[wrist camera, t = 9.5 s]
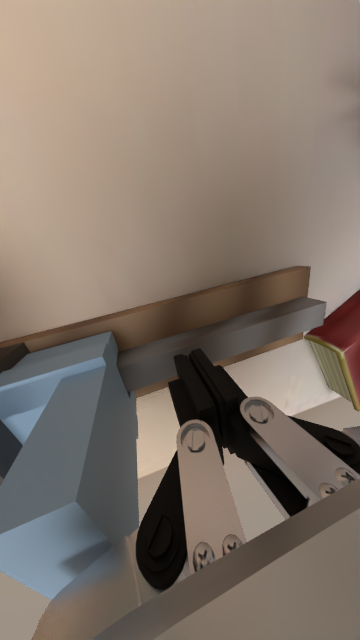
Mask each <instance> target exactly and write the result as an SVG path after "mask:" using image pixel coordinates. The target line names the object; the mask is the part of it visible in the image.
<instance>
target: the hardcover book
mask: <svg viewBox="0 0 360 640" xmlns="http://www.w3.org/2000/svg"><path fill="white" fill-rule="evenodd" d="M304 338H305V339H307V340H309V341H310V343H311V346H312V348H313V350H314V353H315V355H316V357H317V360H318V362H319V365H320V367H321V369H322V372H323V374H324V377H325V379H326V381H327V384H328V386H329V388H330V389H332V390H333V391H335V392H336V393H338V394H339V395H341V396H343V397H344V398H346V399H347V400H349V401H350V402H352V403H353V406H354V409H355V410H357V411H359V410H360V290H359V291H358V292H356V293H355V294H354V295H353V296H352V297H351V298H349V299H348V300H347V301H346V302H345V303H343V304H342V305H341V306H340V307H339V308H337V309H336V310H335V311H334V312H333V313H331V314H330V315H329V316H328V317H327V318H326V319H324V322H323V325H322V326H319V327H316V328H314V329H312V330H311V331H310V332H309V333H308V334H306V335H305V336H304Z"/></svg>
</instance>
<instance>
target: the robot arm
mask: <svg viewBox="0 0 360 640" xmlns="http://www.w3.org/2000/svg"><path fill="white" fill-rule="evenodd" d="M174 362H175V366H176V370H177V375H178V379H176V380H173V381H170V382H168V386H169V390H170V394H171V397H172V401H173V404H174V408H175V411H176V415H177V418H178V421H179V425H180V429H179V431H178V434H177V441H176V442H177V451H176V453H175V455H174V457H173V459H172V461H171V463H170V465H169V467H168V469H167V471H166V473H165V475H164V477H163V479H162V481H161V483H160V485H159V487H158V489H157V491H156V493H155V495H154V497H153V499H152V501H151V504H150V505H149V507H148V509H147V512H146V513H145V515H144V518H143V520H142V522H141V525H140V527H139V528H138V529H137V530H135V531H134V532H133V533H132V534H131V535H130V536H127V535H125V536H124V537H123V538H122V539H121V540H119V541H118V542H117V543H116V544H115V545H113V546H112V547H111V548H110V549H109V550H108V551H106V552H105V553H104V554H103V555H102V556H101V557H99V558H98V559H97V560H96V561H95V562H93V563H92V564H91V565H90V566H89V567H88V568H86V569H85V570H84V571H83V572H82V573H81V574H79V575H78V576H77V577H76V578H75V579H73V580H72V581H71V582H70V583H69V584H68V585H66V586H65V587H64V588H63V589H62V590H61V591H60V592H59V593H58V594H57V595H56V596H55V597H54V598H53V599H52V601H51V602H50V603H49V605H48V607H47V609H46V610H45V612H44V613H43V615H42V617H41V618H40V620H39V623H38V625H37V628H36V630H35V633H34V635H33V637H32V640H360V426H357V427H350V428H344V429H343V431H341V432H340V431H338V430H335V429H332V428H329V427H325V426H322V425H318V424H315V423H311V422H308V421H304V420H301V419H297V418H294V417H291V416H287V415H286V414H284V413H283V412H282V411H281V410H279V409H278V408H277V407H276V406H275V405H273V404H272V403H271V402H269V401H268V400H266V399H264V398H261V397H249V398H248V397H247V396H246V395H245V393H244V392H243V391H242V390H241V389H240V388H239V386H238V385H237V384H236V383H235V382H234V380H233V379H232V378H231V377H230V376H229V374H228V373H227V372H226V371H225V370H224V369H223V367H222V366H221V365H217V366H214V365H213V364H212V362H211V361H210V360H209V359H208V357H207V356H206V355H205V353H204V352H203V351H202V350H201V348H198V349H195V350H192V351H191V353H190V354H189V358H188V357H187V355H183V354H179V355H176V356H174ZM222 446H223V448H228V450H229V452H230V454H233V453H235V454H236V455H237V457H239V458H241V459H243V460H244V461H245V463H246V465H247V467H248V468H249V470H250V471H251V472H252V474H253V475H254V477H255V478H256V479H257V481H258V482H259V483H260V485H261V486H262V487H263V489H264V490H265V492H266V493H267V495H268V496H269V497H270V499H271V500H272V502H273V503H274V504H275V506H276V507H277V509H278V510H279V511H280V513H281V514H282V515H283V517H284V518H285V521H283V522H282V523H280V524H278V525H276V526H275V527H273V528H271V529H270V530H268V531H266V532H265V533H263V534H261V535H259V536H258V537H256V538H254V539H252V540H250V541H249V542H247V541H246V538H245V535H244V532H243V528H242V525H241V522H240V519H239V515H238V512H237V509H236V506H235V503H234V499H233V496H232V493H231V489H230V486H229V483H228V480H227V476H226V473H225V470H224V467H223V465H224V458H223V449H222Z"/></svg>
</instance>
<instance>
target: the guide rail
mask: <svg viewBox="0 0 360 640" xmlns="http://www.w3.org/2000/svg"><path fill="white" fill-rule="evenodd" d="M310 268H311V267H309V266H296V267H292V268H288V269H284V270H280V271H276V272H272V273H269V274H265V275H261V276H257V277H253V278H249V279H245V280H241V281H238V282H234V283H230V284H226V285H222V286H218V287H214V288H210V289H206V290H203V291H199V292H195V293H191V294H187V295H183V296H179V297H175V298H172V299H168V300H164V301H160V302H156V303H152V304H148V305H144V306H141V307H137V308H133V309H129V310H125V311H121V312H117V313H113V314H110V315H106V316H102V317H98V318H94V319H90V320H86V321H82V322H78V323H75V324H71V325H67V326H63V327H59V328H55V329H51V330H47V331H44V332H40V333H36V334H32V335H28V336H24V337H20V338H16V339H13V340H9V341H5V342H1V343H0V374H1V373H2V372H3V371H7V370H10V369H12V368H13V367H14V366H15V365H16V364H17V363H18V362H19V361H20V360H21V359H23V358H24V357H25V356H26V355H27V354H30V353H33V352H37V351H40V350H44V349H48V348H51V347H55V346H59V345H62V344H66V343H70V342H73V341H77V340H80V339H84V338H88V337H91V336H95V335H99V334H102V333H106V332H109V331H112V334H113V336H114V339H115V341H116V344H117V347H118V355H117V363H116V366H117V369H118V371H119V374H120V376H121V378H122V381H123V383H124V386H125V388H126V391H127V393H128V392H131V391H135V393H136V398H137V397H140V396H143V395H146V394H149V393H152V392H154V391H157V390H160V389H163V388H166V387H168V382H170V381H173V380H176V379H178V375H177V370H176V366H175V362H174V356H176V355H179V354H183V355H187V357H188V358H189V354H190V353H191V351H192V350H195V349H198V348H201V350H202V351H203V352H204V353H205V355H206V356H207V357H208V359H209V360H210V361H211V362H212V364H213V365H214V366H217V365H221V366H222V367H225V366H228V365H231V364H233V363H236V362H239V361H242V360H245V359H247V358H250V357H253V356H256V355H259V354H262V353H264V352H267V351H270V350H273V349H276V348H278V347H281V346H284V345H287V344H290V343H293V342H295V341H298V340H301V339H303V332H304V331H307V330H310V329H313V328H316V327H319V326H322V325H323V322H324V316H325V309H326V303H327V302H324V301H320V300H315V299H311V298H307V295H308V286H309V277H310ZM22 447H23V445H22V444H21V443H20V441H19V440H18V439H17V438H16V437H15V436H14V435H13V433H12V432H11V431H10V430H9V429H8V428H7V427H6V425H5V424H4V423H3V422H2V421H1V420H0V485H1V484H2V482H3V480H4V478H5V477H6V475H7V473H8V471H9V470H10V468H11V466H12V464H13V463H14V461H15V459H16V457H17V456H18V454H19V452H20V450H21V449H22Z"/></svg>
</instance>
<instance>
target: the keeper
mask: <svg viewBox="0 0 360 640" xmlns="http://www.w3.org/2000/svg"><path fill="white" fill-rule="evenodd" d="M117 355H118V347H117V344H116V341H115V339H114V336H113V334H112V331H109V332H106V333H102V334H99V335H95V336H91V337H88V338H84V339H80V340H77V341H73V342H70V343H66V344H62V345H59V346H55V347H51V348H48V349H44V350H40V351H37V352H33V353H30V354H27V355H26V356H25V357H24V358H23V359H21V360H20V361H19V362H18V363H17V364H16V365H15V366H14V367H13V368H12V369H10V370H7V371H3V372H2V373H1V374H0V420H1V421H2V422H3V423H4V424H5V425H6V427H7V428H8V429H9V430H10V431H11V432H12V433H13V435H14V436H15V437H16V438H17V439H18V440H19V441H20V443H21V444H22V445H23V447H22V449H21V450H20V452H19V454H18V456H17V457H16V459H15V461H14V463H13V464H12V466H11V468H10V470H9V471H8V473H7V475H6V477H5V478H4V480H3V482H2V484H1V485H0V571H1V572H3V573H5V574H6V575H8V576H10V577H12V578H13V579H15V580H17V581H19V582H20V583H22V584H24V585H26V586H28V587H29V588H31V589H33V590H35V591H37V592H38V593H40V594H42V595H44V596H45V597H47V598H49V599H51V600H52V599H53V598H54V597H55V596H56V595H57V594H58V593H59V592H60V591H61V590H62V589H63V588H64V587H65V586H66V585H68V584H69V583H70V582H71V581H72V580H73V579H75V578H76V577H77V576H78V575H79V574H81V573H82V572H83V571H84V570H85V569H86V568H88V567H89V566H90V565H91V564H92V563H93V562H95V561H96V560H97V559H98V558H99V557H101V556H102V555H103V554H104V553H105V552H106V551H108V550H109V549H110V548H111V547H112V546H113V545H115V544H116V543H117V542H118V541H119V540H121V539H122V538H123V537H124V536H125V535H127V536H130V535H131V534H132V533H133V532H134V531H135V530H137V529H138V528H139V511H138V479H137V448H136V439H138V420H137V414H136V393H135V391H131V392H128V393H127V391H126V388H125V386H124V383H123V381H122V378H121V376H120V374H119V371H118V369H117V366H116V363H117Z"/></svg>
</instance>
